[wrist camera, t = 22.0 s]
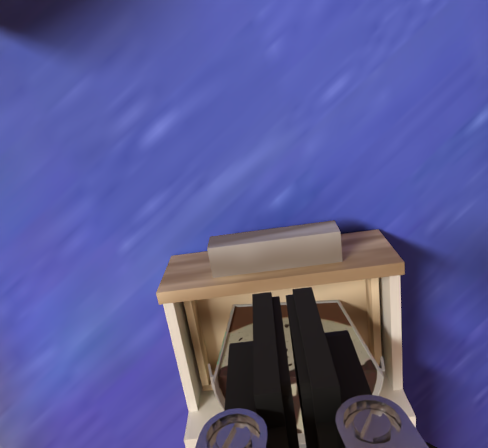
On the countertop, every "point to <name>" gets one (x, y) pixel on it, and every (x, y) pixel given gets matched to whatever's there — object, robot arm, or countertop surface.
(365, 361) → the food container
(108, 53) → the countertop surface
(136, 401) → the countertop surface
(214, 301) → the sliding tray
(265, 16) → the countertop surface
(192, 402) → the dock
